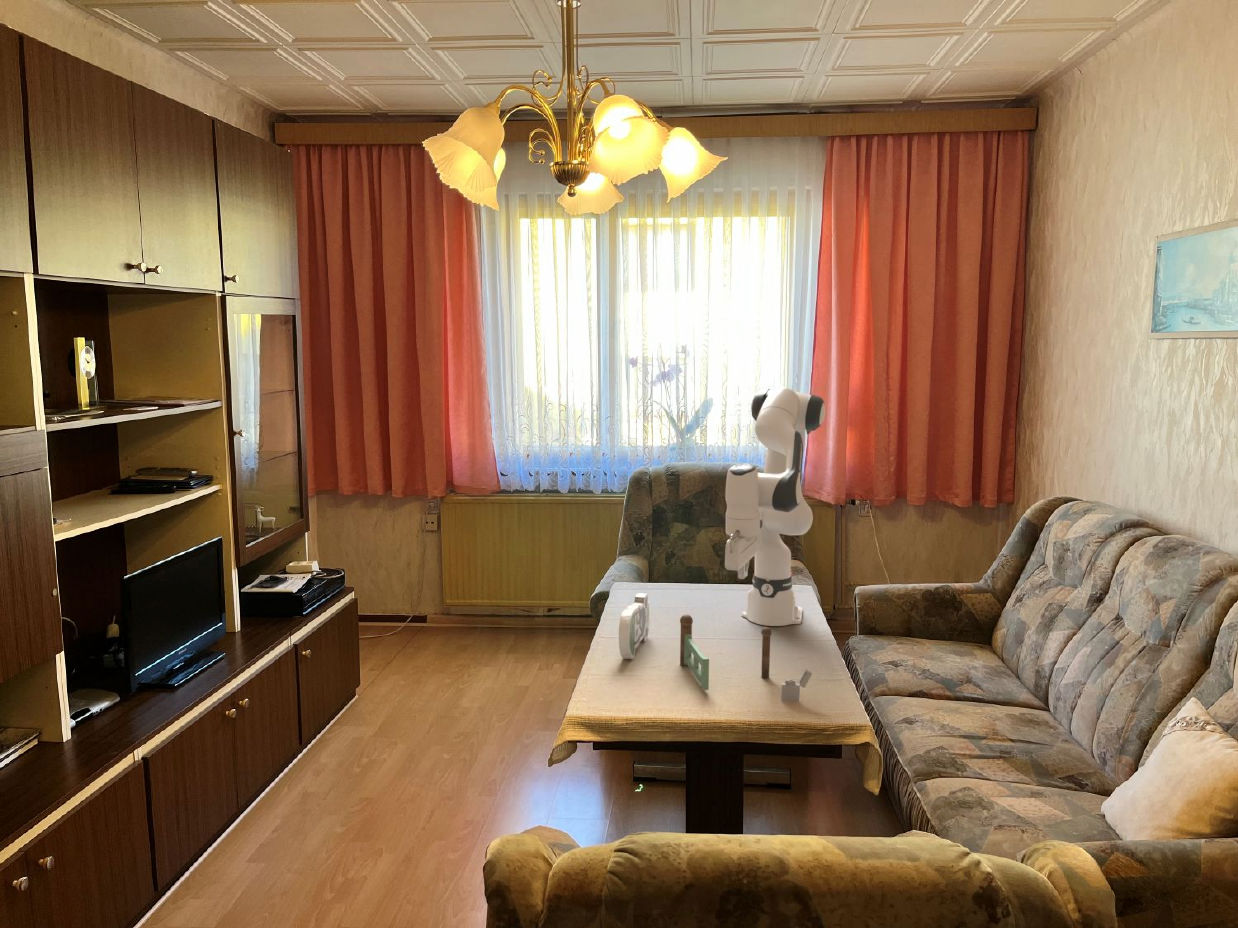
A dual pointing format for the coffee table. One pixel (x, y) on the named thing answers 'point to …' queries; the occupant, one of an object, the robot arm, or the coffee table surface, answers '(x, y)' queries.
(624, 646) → the cutout
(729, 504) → the robot arm
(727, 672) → the coffee table surface
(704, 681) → the gate
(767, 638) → the gate posts
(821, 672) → the coffee table surface
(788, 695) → the lighter
